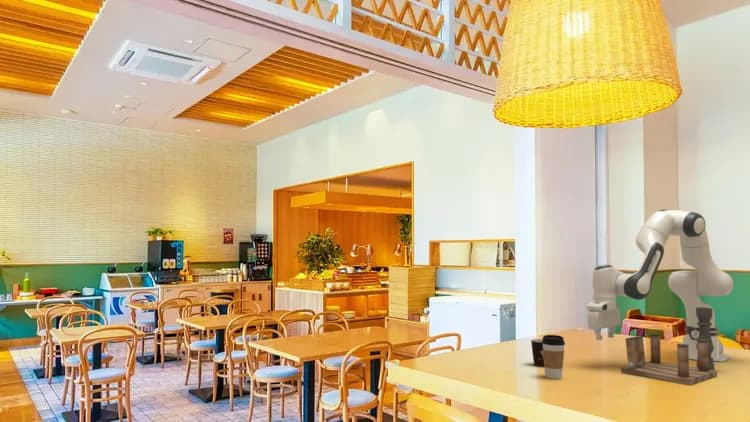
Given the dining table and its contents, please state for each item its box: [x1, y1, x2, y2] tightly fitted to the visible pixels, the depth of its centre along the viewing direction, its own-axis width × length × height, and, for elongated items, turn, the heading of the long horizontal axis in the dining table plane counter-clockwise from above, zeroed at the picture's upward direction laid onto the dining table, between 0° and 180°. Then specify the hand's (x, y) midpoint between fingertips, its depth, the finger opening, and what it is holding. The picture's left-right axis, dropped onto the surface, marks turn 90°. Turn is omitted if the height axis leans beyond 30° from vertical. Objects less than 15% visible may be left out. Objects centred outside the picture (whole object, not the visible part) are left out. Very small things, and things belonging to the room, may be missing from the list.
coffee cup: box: [542, 334, 566, 380], centre depth 211 cm, size 8×8×15 cm
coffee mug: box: [530, 338, 545, 368], centre depth 231 cm, size 12×9×10 cm
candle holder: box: [696, 307, 716, 371], centre depth 226 cm, size 6×6×25 cm
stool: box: [620, 333, 718, 386], centre depth 218 cm, size 25×25×14 cm
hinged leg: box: [624, 335, 647, 368], centre depth 221 cm, size 10×2×11 cm, turn 129°
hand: (605, 338), depth 231 cm, fingers open, 8 cm apart
